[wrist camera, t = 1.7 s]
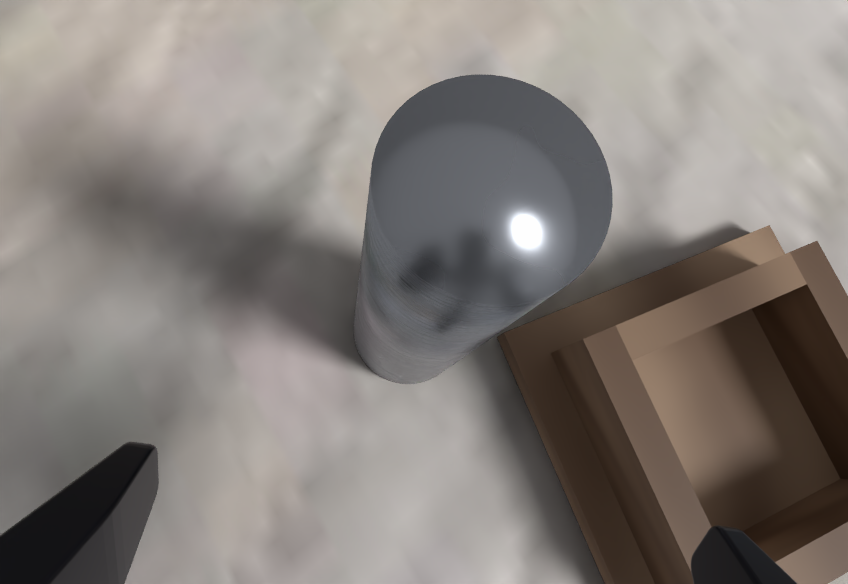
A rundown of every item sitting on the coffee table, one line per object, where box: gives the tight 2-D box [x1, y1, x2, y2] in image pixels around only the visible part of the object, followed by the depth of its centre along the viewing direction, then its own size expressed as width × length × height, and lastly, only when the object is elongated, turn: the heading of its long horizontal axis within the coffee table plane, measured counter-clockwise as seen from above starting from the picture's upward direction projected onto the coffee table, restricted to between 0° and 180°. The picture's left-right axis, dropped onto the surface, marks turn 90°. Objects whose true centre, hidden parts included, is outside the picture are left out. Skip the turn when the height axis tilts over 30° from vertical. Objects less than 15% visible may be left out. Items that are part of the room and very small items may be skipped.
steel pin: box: [353, 75, 612, 384], centre depth 16 cm, size 4×4×13 cm
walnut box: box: [497, 225, 848, 584], centre depth 21 cm, size 12×12×4 cm
